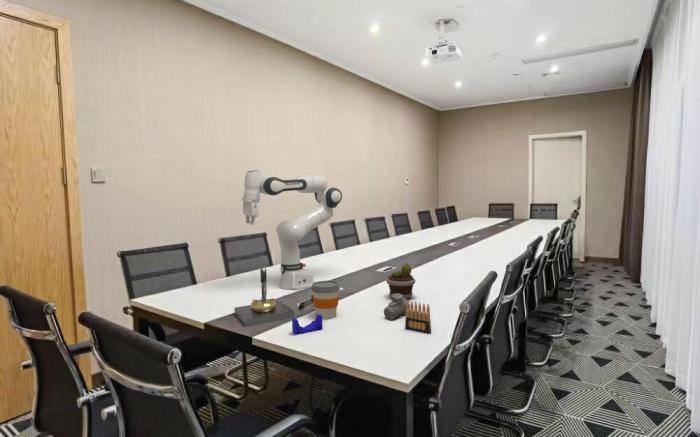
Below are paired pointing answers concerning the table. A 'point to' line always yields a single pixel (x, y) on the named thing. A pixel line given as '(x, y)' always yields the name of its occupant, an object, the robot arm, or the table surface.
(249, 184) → the robot arm
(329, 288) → the reusable coffee cup
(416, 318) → the ammunition clip
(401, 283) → the flowerpot
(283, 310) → the cap plate
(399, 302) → the pipe fitting
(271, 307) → the brass base with rod
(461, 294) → the table surface
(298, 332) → the blue cradle stand
